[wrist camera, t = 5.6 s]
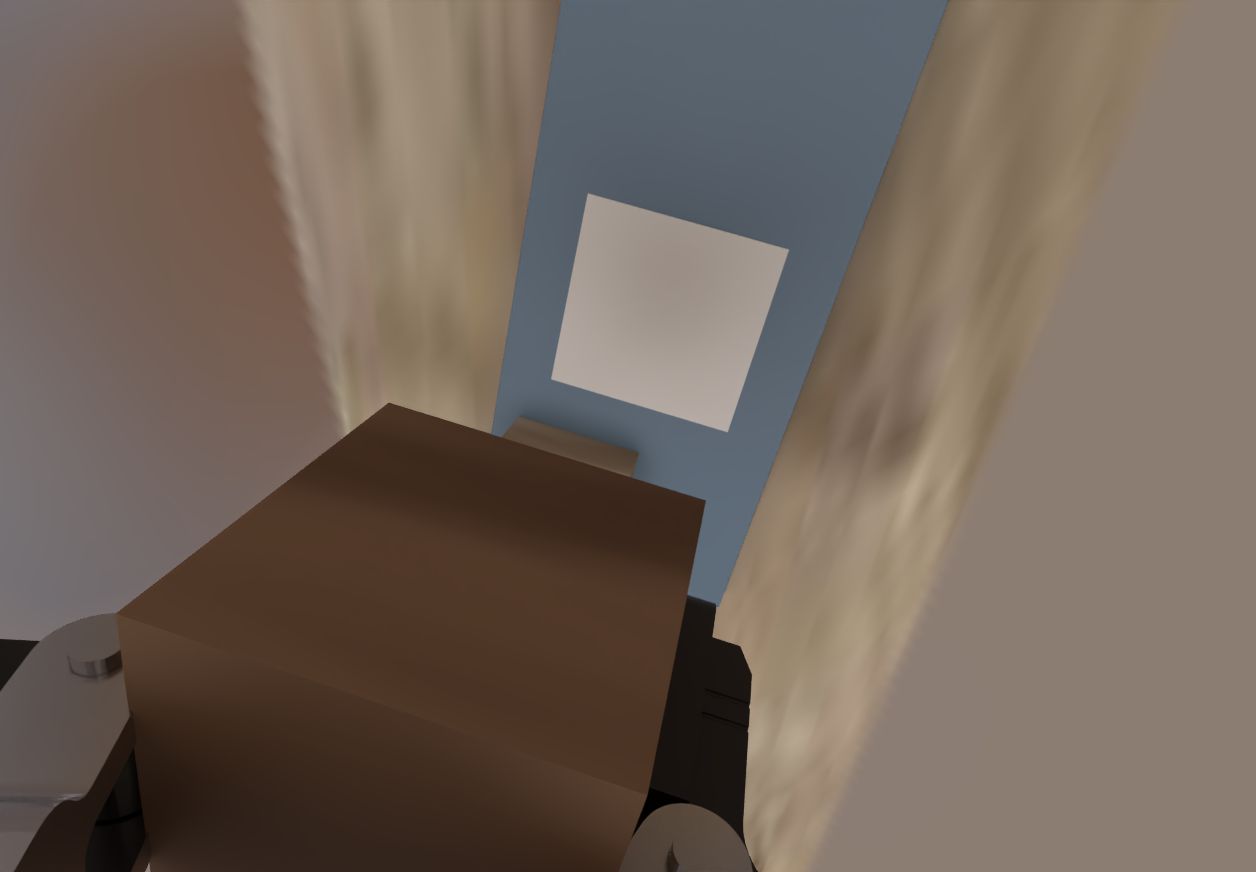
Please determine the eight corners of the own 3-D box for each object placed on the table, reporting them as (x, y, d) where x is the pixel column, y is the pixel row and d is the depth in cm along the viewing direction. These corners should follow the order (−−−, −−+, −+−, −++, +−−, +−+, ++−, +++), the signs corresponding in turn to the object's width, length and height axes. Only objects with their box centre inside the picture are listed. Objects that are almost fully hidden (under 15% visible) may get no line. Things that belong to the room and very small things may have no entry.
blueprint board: (586, -98, 22) (577, -107, 21) (946, -8, 21) (954, -14, 20) (484, 517, 32) (475, 530, 31) (720, 592, 31) (718, 608, 30)
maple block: (519, 416, 28) (470, 475, 24) (639, 453, 28) (611, 519, 24) (500, 518, 31) (453, 588, 26) (611, 553, 30) (581, 631, 26)
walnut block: (388, 403, 11) (116, 612, 6) (706, 500, 11) (648, 794, 6) (368, 642, 13) (158, 919, 9) (628, 729, 13) (544, 1064, 8)
